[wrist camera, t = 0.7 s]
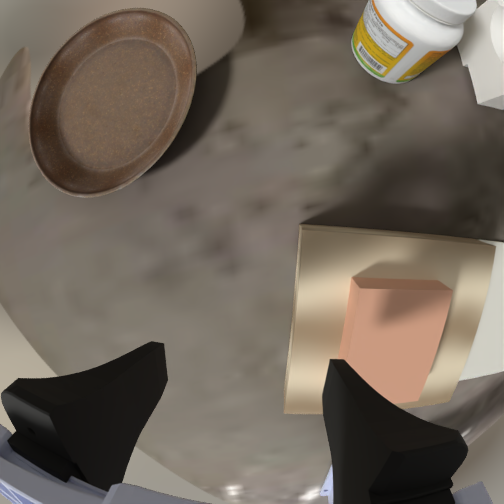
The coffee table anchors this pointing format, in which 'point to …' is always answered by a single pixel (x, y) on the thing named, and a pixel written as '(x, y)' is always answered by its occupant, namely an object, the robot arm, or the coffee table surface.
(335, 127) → the coffee table surface
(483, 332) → the mat
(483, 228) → the coffee table surface
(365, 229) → the beige flat block
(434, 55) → the supplement bottle
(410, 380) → the tile
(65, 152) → the saucer
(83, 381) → the robot arm
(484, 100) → the bracket
